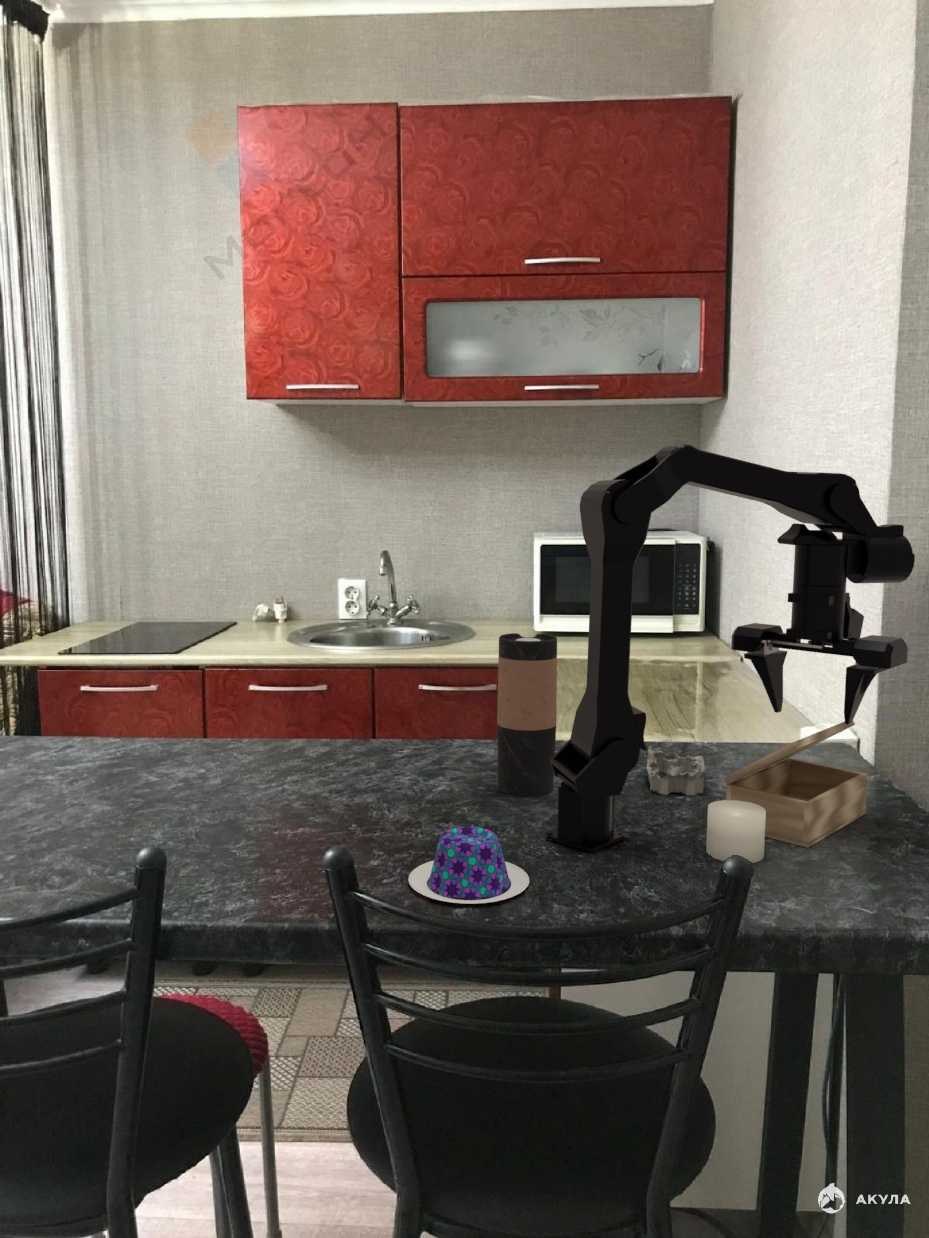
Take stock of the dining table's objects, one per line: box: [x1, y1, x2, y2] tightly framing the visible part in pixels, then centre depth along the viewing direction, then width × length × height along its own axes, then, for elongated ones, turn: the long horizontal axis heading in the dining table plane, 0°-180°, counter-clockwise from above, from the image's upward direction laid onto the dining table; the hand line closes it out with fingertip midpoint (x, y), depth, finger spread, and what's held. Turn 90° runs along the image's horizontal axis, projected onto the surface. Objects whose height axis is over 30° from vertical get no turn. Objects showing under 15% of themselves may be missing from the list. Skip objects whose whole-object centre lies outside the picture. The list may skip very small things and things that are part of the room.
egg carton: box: [646, 745, 706, 797], centre depth 132 cm, size 11×8×4 cm
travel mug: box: [496, 632, 558, 797], centre depth 128 cm, size 8×8×20 cm
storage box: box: [725, 757, 869, 849], centre depth 117 cm, size 16×10×5 cm, turn 137°
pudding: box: [408, 826, 530, 905], centre depth 98 cm, size 12×12×5 cm
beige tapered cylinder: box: [705, 799, 766, 864], centre depth 106 cm, size 6×6×5 cm
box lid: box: [723, 720, 856, 785], centre depth 117 cm, size 16×10×1 cm
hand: (812, 717), depth 115 cm, fingers open, 8 cm apart
